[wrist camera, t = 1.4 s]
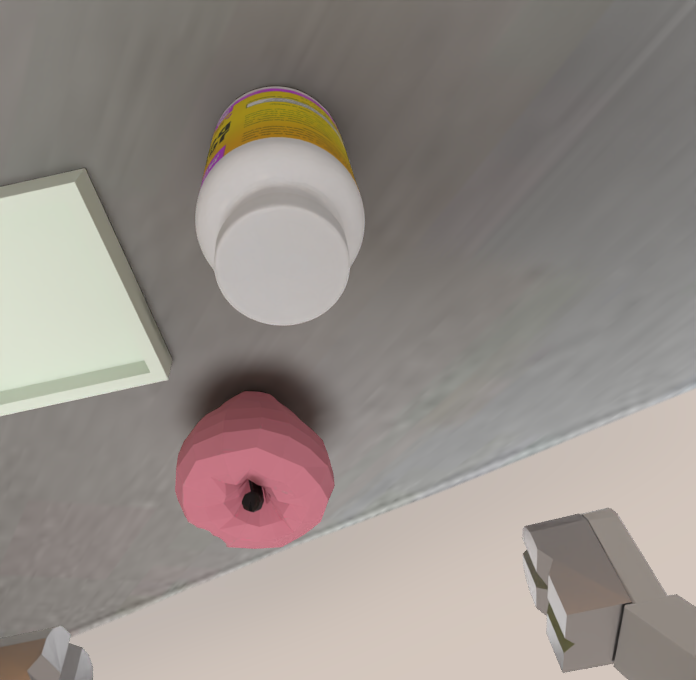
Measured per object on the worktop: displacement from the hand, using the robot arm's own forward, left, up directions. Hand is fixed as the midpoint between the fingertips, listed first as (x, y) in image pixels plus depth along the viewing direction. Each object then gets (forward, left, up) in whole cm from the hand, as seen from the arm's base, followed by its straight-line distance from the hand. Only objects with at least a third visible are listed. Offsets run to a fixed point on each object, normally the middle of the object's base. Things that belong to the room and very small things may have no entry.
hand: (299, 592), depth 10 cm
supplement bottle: (0, 0, -25) cm, 25 cm away
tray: (+16, +5, -25) cm, 30 cm away
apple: (+6, +17, -25) cm, 31 cm away
